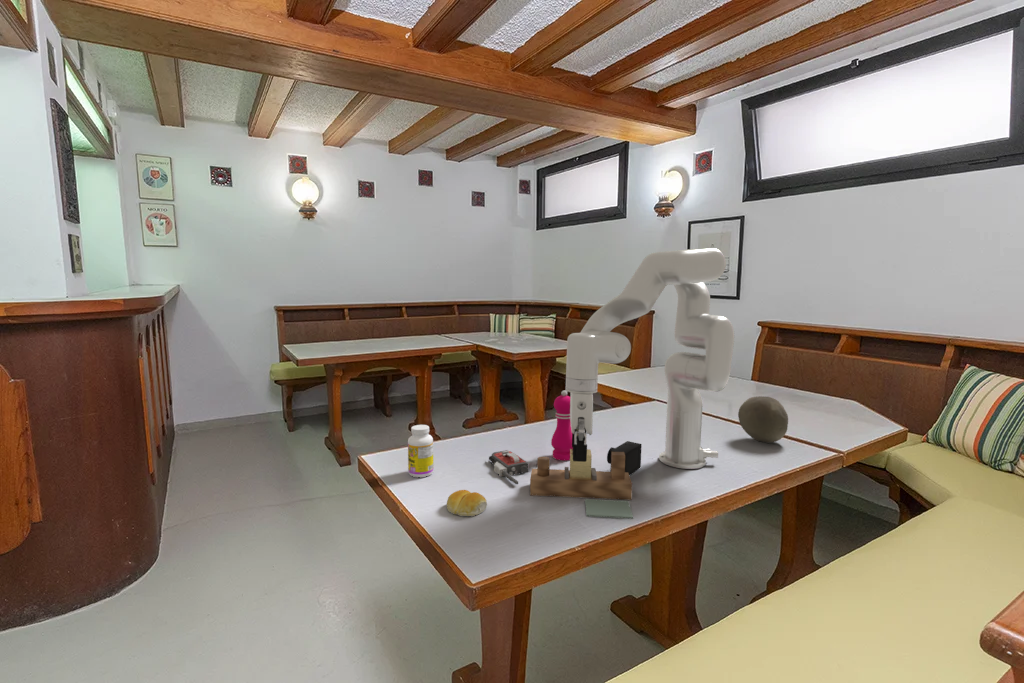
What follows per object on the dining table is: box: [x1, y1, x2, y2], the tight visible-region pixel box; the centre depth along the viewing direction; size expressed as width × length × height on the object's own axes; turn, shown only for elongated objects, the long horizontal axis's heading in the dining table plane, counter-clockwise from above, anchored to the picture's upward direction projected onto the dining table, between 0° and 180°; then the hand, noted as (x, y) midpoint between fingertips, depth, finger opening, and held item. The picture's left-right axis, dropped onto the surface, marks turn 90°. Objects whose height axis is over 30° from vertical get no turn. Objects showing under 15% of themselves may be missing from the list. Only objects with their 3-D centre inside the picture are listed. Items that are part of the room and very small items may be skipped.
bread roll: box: [446, 489, 488, 517], centre depth 111 cm, size 8×9×4 cm
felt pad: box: [584, 498, 634, 520], centre depth 111 cm, size 10×8×1 cm
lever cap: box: [569, 448, 593, 480], centre depth 119 cm, size 5×4×7 cm
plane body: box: [529, 452, 633, 501], centre depth 120 cm, size 24×7×10 cm, turn 84°
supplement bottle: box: [407, 424, 434, 478], centre depth 131 cm, size 7×7×13 cm
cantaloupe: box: [737, 395, 789, 444], centre depth 158 cm, size 14×14×15 cm
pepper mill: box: [550, 389, 573, 461], centre depth 143 cm, size 7×7×20 cm
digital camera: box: [606, 440, 642, 476], centre depth 133 cm, size 10×5×7 cm, turn 143°
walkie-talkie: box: [488, 449, 529, 485], centre depth 133 cm, size 9×4×20 cm
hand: (578, 454), depth 119 cm, fingers open, 9 cm apart
